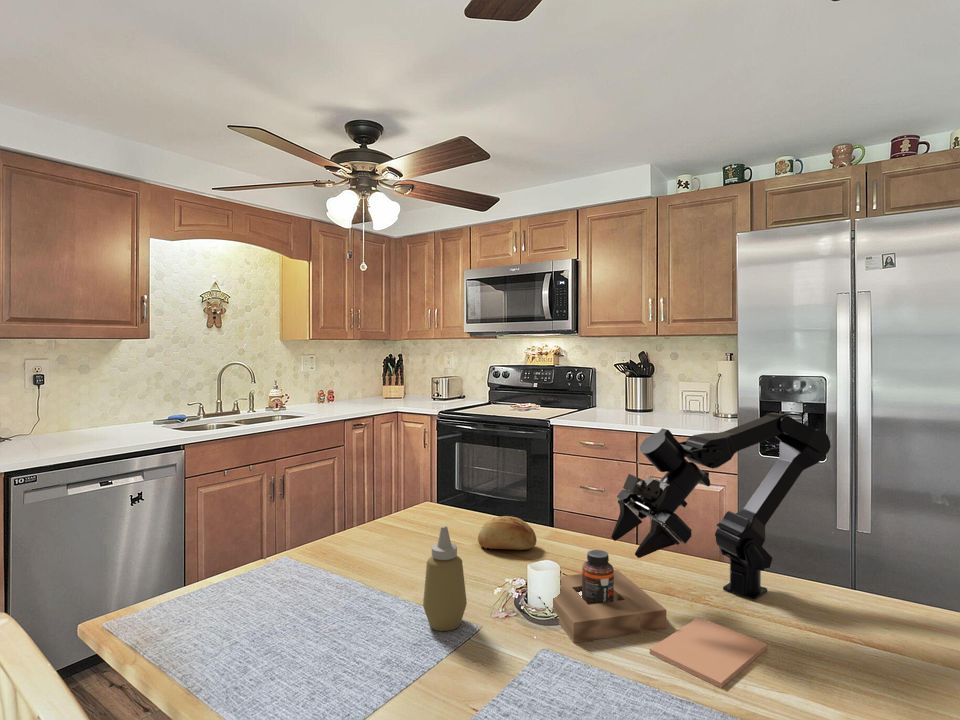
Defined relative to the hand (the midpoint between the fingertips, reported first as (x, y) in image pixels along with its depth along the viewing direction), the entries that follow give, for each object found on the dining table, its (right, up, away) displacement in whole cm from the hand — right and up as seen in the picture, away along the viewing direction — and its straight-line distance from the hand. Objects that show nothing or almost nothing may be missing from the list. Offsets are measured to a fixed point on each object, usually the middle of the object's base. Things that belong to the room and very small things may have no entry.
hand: (624, 547), depth 105 cm
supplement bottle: (-5, -12, -1) cm, 13 cm away
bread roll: (-21, -12, +32) cm, 40 cm away
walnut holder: (-5, -12, -1) cm, 13 cm away
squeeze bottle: (-34, -12, -5) cm, 37 cm away
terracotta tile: (+10, -12, -15) cm, 22 cm away
